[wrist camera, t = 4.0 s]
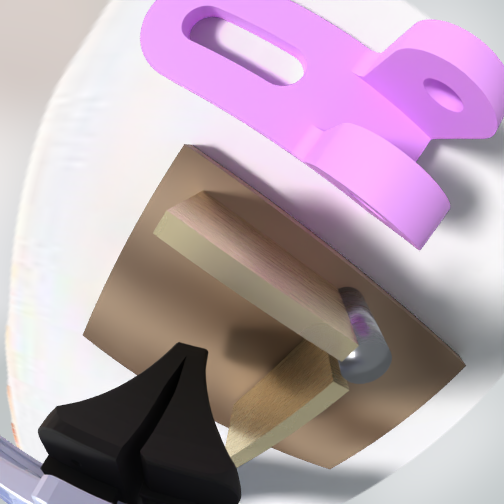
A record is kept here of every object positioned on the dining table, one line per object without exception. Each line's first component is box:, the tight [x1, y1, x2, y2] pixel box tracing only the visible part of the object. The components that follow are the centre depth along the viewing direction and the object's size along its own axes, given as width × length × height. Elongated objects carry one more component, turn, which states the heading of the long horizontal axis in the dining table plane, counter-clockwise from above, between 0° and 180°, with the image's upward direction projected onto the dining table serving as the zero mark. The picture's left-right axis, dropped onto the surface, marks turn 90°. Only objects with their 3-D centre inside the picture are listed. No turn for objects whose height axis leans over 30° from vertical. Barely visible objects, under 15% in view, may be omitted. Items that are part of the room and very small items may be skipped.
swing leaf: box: [225, 339, 349, 468], centre depth 12 cm, size 1×7×4 cm, turn 145°
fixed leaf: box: [153, 191, 392, 384], centre depth 11 cm, size 2×9×4 cm, turn 54°
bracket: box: [140, 0, 504, 250], centre depth 8 cm, size 13×6×7 cm, turn 56°
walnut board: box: [83, 144, 466, 469], centre depth 15 cm, size 12×19×1 cm, turn 54°
